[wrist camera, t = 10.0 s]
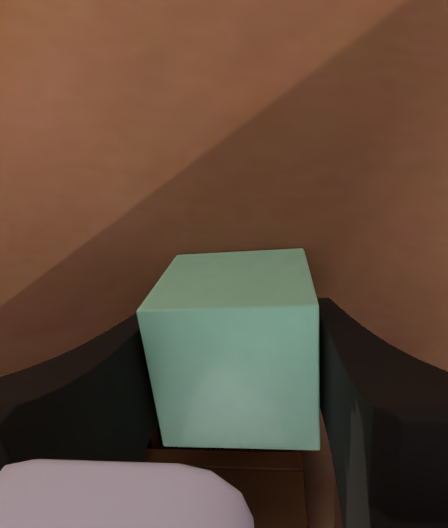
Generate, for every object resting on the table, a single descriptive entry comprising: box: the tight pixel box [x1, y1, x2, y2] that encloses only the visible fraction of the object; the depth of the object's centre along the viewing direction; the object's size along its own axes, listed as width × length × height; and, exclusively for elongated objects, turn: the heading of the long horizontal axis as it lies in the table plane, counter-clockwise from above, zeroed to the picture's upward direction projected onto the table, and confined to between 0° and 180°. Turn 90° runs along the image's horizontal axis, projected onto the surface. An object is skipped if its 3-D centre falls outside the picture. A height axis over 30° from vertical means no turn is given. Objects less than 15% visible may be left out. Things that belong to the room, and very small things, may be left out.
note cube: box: [136, 248, 320, 450], centre depth 11 cm, size 4×4×4 cm
